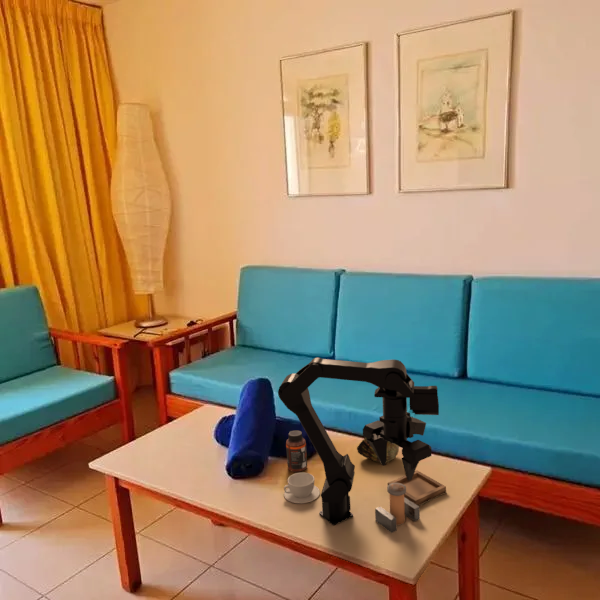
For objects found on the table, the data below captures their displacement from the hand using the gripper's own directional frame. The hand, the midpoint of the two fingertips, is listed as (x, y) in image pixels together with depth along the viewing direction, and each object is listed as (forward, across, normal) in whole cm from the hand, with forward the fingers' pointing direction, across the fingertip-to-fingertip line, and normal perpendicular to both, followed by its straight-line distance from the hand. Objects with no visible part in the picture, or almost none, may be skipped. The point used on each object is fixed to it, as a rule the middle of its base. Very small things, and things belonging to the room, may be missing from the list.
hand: (396, 472), depth 137 cm
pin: (+13, 0, 0) cm, 13 cm away
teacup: (+14, +25, +12) cm, 31 cm away
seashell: (+13, +26, -17) cm, 34 cm away
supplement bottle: (+13, +38, +6) cm, 40 cm away
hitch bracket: (+13, 0, 0) cm, 13 cm away
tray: (+13, +6, -13) cm, 19 cm away
